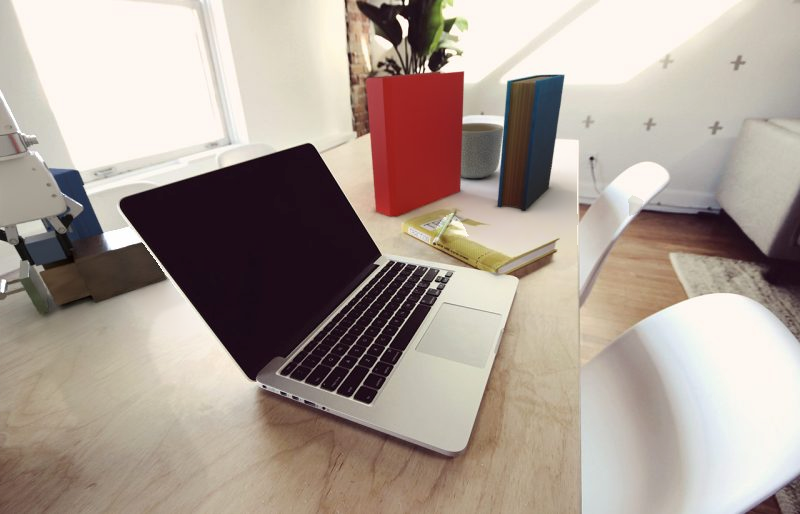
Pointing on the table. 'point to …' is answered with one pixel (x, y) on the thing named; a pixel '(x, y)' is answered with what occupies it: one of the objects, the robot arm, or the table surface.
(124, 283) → the cabinet
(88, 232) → the electronic device
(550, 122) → the book
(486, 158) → the planter
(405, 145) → the book
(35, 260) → the block
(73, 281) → the drawer
